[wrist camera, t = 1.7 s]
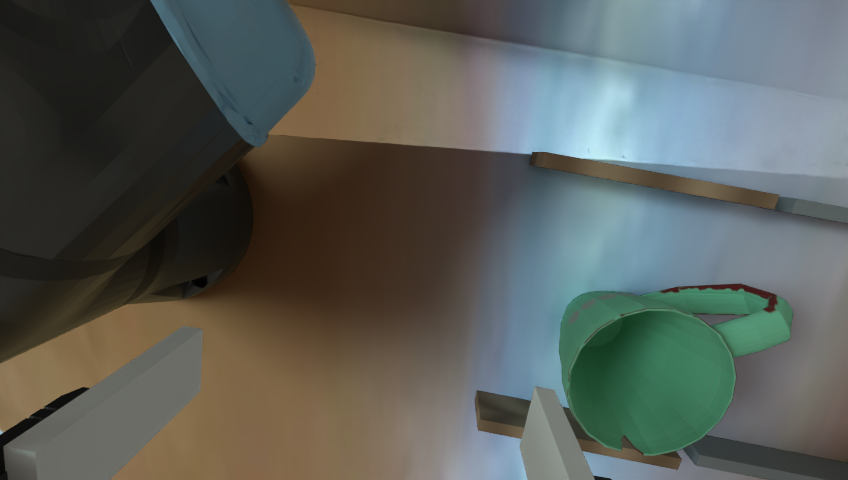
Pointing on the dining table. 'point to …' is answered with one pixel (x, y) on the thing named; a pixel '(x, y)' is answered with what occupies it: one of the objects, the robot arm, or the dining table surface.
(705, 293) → the mug
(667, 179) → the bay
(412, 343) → the dining table surface
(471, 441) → the dining table surface
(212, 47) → the robot arm
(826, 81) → the dining table surface
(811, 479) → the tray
